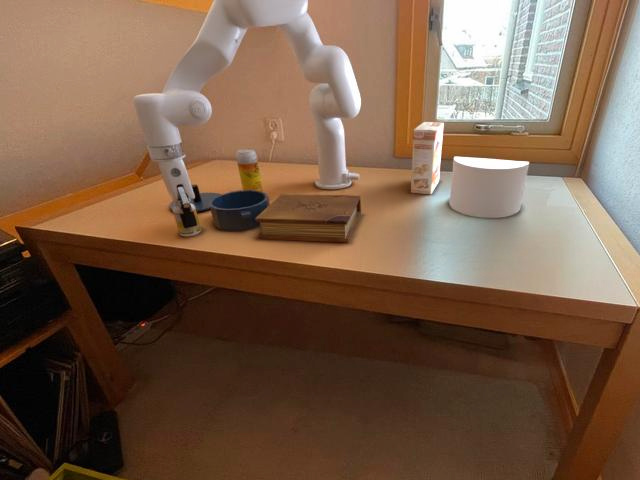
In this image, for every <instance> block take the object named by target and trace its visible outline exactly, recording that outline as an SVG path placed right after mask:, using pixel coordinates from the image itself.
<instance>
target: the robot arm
mask: <svg viewBox="0 0 640 480" xmlns="http://www.w3.org/2000/svg"><path fill="white" fill-rule="evenodd" d="M308 7H309V0H213V2H212V4H211V6H210V8H209V9H208V12H207V15H206V17H205V18H204V21H203V23H202V26H201V27H200V30H199V32H198V33H197V36H196V38H195V40H194V41H193V43H192V44H191V45H190V47H189V48H188V49H187V50H186V51H185V53H184V54H183V55H182V57H181V58H180V59H179V61H177V63H176V64H175V66H174V68H173V69H172V71H171V72H170V75H169V77H168V78H167V81H166V83H165V85H164V88H163V89H162V92H161V93H160V92H159V93H141V94H137V95H136V96H134V97H133V100H132V104H133V108H134V111H135V114H136V118H137V120H138V123H139V126H140V130H141V132H142V135H143V139H144V142H145V145H146V148H147V152H148V154H149V157H150V160H151V162H154V163H157V164H158V168H159V171H160V174H161V177H162V180H163V183H164V185H165V188H166V191H167V193H168V195H169V197H170V198H171V199H172V201H174V202H176V203H177V204H178V207H179V209H180V212H181V213H180V217H181V220H182V223H183V226H184V228H190V227H194V226H197V222H196V218H195V215H194V211H193V210H192V207H191V204H190V200H189V198H188V196H189V197H190V198H191V199H195V195H194V192H193V189H192V186H191V185H192V182H191V179H190V176H189V173H188V170H187V166H186V165H185V161H184V160H183V159H184V158H186V157H187V155H186V152H185V148H184V144H183V141H182V140H183V139H182V137H181V133H180V130H179V127H197V126H202V125H204V124H206V123H207V122H209V120H210V119H211V117H212V114H213V113H212V112H213V108H212V104H211V102H210V101H209V99H208V98H207V97H206V96H205V95H203V93H201V91H202V89H203V88H204V86H205V85H206V84H207V83H209V81H210V80H211V79H212V78H214V77H216V76H218V75H220V74H222V73H223V72H224V71H226V69H228V68H229V67H230V66H231V64H232V62H233V61H234V58H235V56H236V54H237V51H238V49H239V47H240V46H241V43H242V42H243V39H244V36H245V35H246V32H247V31H248V29H254V28H255V29H256V28H265V27H276V28H277V29H278V30H279V31H280V32H281V33H282V34H283V35H284V37H285V38H286V40H287V42H288V45H289V46H290V49H291V52H292V54H293V56H294V58H295V61H296V63H297V66H298V68H299V70H300V73H301V75H302V78H303V79H304V80H305V81H307V82H309V83H311V84H318V85H316V86H314V87H313V88H312V89H311V91H310V93H309V96H308V102H309V103H308V104H309V108H310V109H309V110H310V112H311V116H312V120H313V126H314V133H315V134H314V135H315V144H316V156H317V166H318V178H317V179H316V180H315V181H314V183H315V187H317V188H319V189H322V190H340V189H344V188H348V187H350V186H351V185H352V180H353V181H360V174H359V173H357V172H349V169H348V168H347V160H346V159H347V158H346V142H345V139H346V138H345V137H346V135H345V128H344V124H343V122H342V120H352V119H354V118H355V117H357V116H358V115H359V113H360V110H361V108H362V107H361V106H362V98H361V93H360V89H359V86H358V83H357V80H356V76H355V72H354V70H353V66H352V63H351V60H350V58H349V56H348V54H347V53H346V52H345V51H344V49H343V48H341V47H340V46H337V45H333V44H329V45H328V44H327V45H326V44H325V45H324V44H323V42H322V41H321V38H320V34H319V32H318V30H317V28H316V26H315V23H314V21H313V19H312V17H311V16H310V14H309V13H308ZM179 198H181V201H179V200H178V199H179ZM180 203H182V204H183V205H182V206H181V204H180Z"/></svg>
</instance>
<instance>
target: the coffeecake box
mask: <svg viewBox="0 0 640 480" xmlns="http://www.w3.org/2000/svg"><path fill="white" fill-rule="evenodd" d="M444 126H445V123H444V122H440V121H437V122H436V121H423V122H422V123H420V124H419V125H418V126H416V127H415V128H414V129H413V130H412V131H413V133H412V134H413V136H412V154H411V155H412V156H411V160H412V161H411V178H410V179H411V180H410V181H411V182H410V193H412V194H424V195H432V194H433V192H434V190H435V188H436V187H437V185H438V184H439V182H440V174H441V173H440V172H441V159H442V147H443V136H444Z"/></svg>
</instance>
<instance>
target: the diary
mask: <svg viewBox="0 0 640 480" xmlns="http://www.w3.org/2000/svg"><path fill="white" fill-rule="evenodd" d="M361 198H362V197H361V195H348V194H347V195H346V194H344V195H342V194H339V195H338V194H295V193H294V194H293V193H292V194H291V193H280V194H279V195H278V196H277V197H276V198H275V199H274V200H272V201H271V203H270V205H269V206H268V207H267V208H266V209H265V210H264V211H263V212H262V213H260V214H259V215H258V216H257V217H256V218H255V219H256V222H260V225H261V226H260V229H261V232H260V234H259V235H258V239H259V240H276V241H277V240H280V241H301V242H302V241H304V242H306V241H307V242H327V243H329V242H331V243H349V241H350V240H351V237H352V235H353V233H354V230H355V229H356V226H357V224H358V222H359V219H360V218H361V215H362V201H361V200H362V199H361Z"/></svg>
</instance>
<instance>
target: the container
mask: <svg viewBox="0 0 640 480" xmlns="http://www.w3.org/2000/svg"><path fill="white" fill-rule="evenodd" d="M529 167H530V161H522V160H509V159H496V158H484V157H483V158H482V157H471V156H470V157H469V156H455V155H454V157H453V163H452V171H451V173H452V174H451V183H450V190H449V191H450V193H449V203H448V204H449V206H450V208H451V209H453V210H454V211H456V212H458V213H459V214H463V215H466V216H469V217H476V218H484V219H498V218H507V217H511V216H514V215H516V214H517V213H519V211H520V210H521V206H522V202H523V198H524V197H523V196H524V191H525V186H526V181H527V176H528V172H529Z"/></svg>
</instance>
